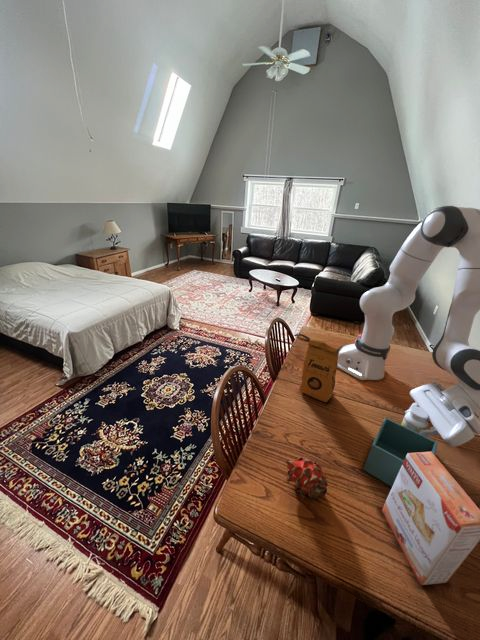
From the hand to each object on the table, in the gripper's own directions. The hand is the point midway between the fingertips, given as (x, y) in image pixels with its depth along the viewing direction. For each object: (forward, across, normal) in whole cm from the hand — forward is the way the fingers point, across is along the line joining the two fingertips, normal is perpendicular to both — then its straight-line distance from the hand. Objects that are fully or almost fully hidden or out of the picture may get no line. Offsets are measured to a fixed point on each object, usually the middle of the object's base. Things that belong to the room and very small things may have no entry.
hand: (412, 424), depth 82 cm
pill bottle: (+4, 0, +5) cm, 6 cm away
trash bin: (+10, +11, -2) cm, 15 cm away
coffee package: (+22, -19, -13) cm, 32 cm away
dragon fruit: (+29, +18, -20) cm, 40 cm away
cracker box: (+14, +30, -5) cm, 33 cm away
